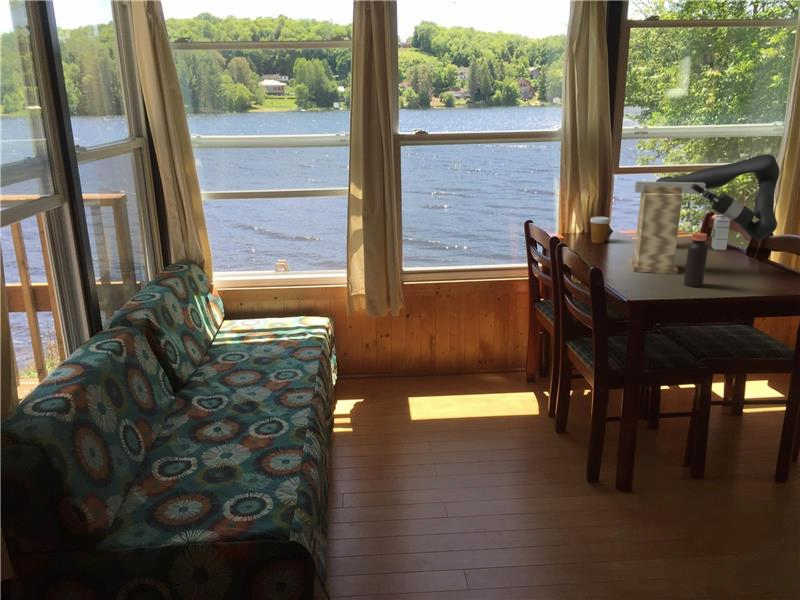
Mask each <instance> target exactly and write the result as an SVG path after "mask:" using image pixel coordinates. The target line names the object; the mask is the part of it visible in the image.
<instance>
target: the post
mask: <svg viewBox="0 0 800 600" xmlns="http://www.w3.org/2000/svg"><path fill="white" fill-rule="evenodd" d="M681 192H682V187H645V189H644V193H640V199H639V209H638V216H637V217H638V219H637V226H636V227H637V228H636V234H635V235H636V237H635V247H634V257H633V258H629V262H628V263H629V265H630V267H631V269H632V271H633V273H644V272H651V273H650V274H666V273H669V274H670V275H672V274H673V275H678V273H679V269H678V267H677V266H676V264H675V260H676V259H675V258H676V251H677V243H678V234H679V225H680V219H681V209H682V202H683V194H681ZM669 274H668V275H669Z"/></svg>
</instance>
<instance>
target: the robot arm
mask: <svg viewBox="0 0 800 600" xmlns="http://www.w3.org/2000/svg"><path fill="white" fill-rule="evenodd" d="M751 173H754V176H755V178H756V180H757V183H758V193H757V194H756V197H755V200H754V208H753V210H751V209H750V208H749V207H747V206H745V205H743V204H742V203H741V202H739V201H738V200H737V199H735V198H733V197H732V196H730V195H728V194H727V193H726V192H722V193H721V194H719V195H718V194H717V193H715V192H714V191H711V190H712V189H717V188H721V187H724V186H726V185H728V184H729V183H730V182H732V181H733V180H734V179H735V178H738V177H739V176H743V175H746V174H751ZM779 176H780V166H779V164H778V162H777V159H776V157H775V156H774V155H772V154H769V153H766V154H760V155H756V156H753V157H748V158H746V159H742V160H740V161H739V160H738V161H735V162H730V163H726V164H722V165H717V166H712V167H707V168H703V169H699V170H696V171H693V172H689V173H687V174H684V175H679V176H669V175H668V176H663V177H660V178H658V179H656V181H655V182H694V183H705V184H706V185H705V189H703V188H702V187H700V186H698V185H697V184H695V185H694V187H693V190H695V191H697V192H698V193H700V194H699V195H700V197H702V198H704V199H705V200H706V201H707V202H709V203H711V204H712V205H711V209H712V210H713V211H715V212H716V213H718V214H720V215H721V216H722V217H725V218H728V219H729V220H730V221H733V222H734V223H736V224H737V225H739V226H741V228H742V229H743V230H744V231H745V232H746V233H747V234H748V235H749V236H750V238H752V239H754V240H759V241H760V240H764V239H765V238H766V237H767V236H769V235H771V234H772V233H774V232H775V231H776V230H777V227H778V220H777V218H776V215H775V212H774V208H775V192H776V187H777V183H778V180H779ZM754 218H755V219H756V220H757V221H756V222H755V221H753V220H754Z"/></svg>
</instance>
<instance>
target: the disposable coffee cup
mask: <svg viewBox="0 0 800 600" xmlns="http://www.w3.org/2000/svg"><path fill="white" fill-rule="evenodd" d="M589 221H590V237H591V243H594V244H604V242H606V238H607V233H608V229H609V224H610V222H611V219H610V218H609V217H606V216H592V217H590V220H589Z"/></svg>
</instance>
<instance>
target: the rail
mask: <svg viewBox="0 0 800 600" xmlns="http://www.w3.org/2000/svg"><path fill="white" fill-rule="evenodd" d="M695 184H697V185H698V186H700V187H702V188H703V189H705V185H706V184H705V183H694V182H656V181H641V180H639V181H635V185H634V188H635V189H634V192H635V193H636V194H637V193H639V194H641V193H644V189H645V187H682V192H681V194H682V195H684V194H687V195H688V194H690V195H700V193H698V192H697V191H695V190H693V187H694V185H695Z"/></svg>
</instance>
